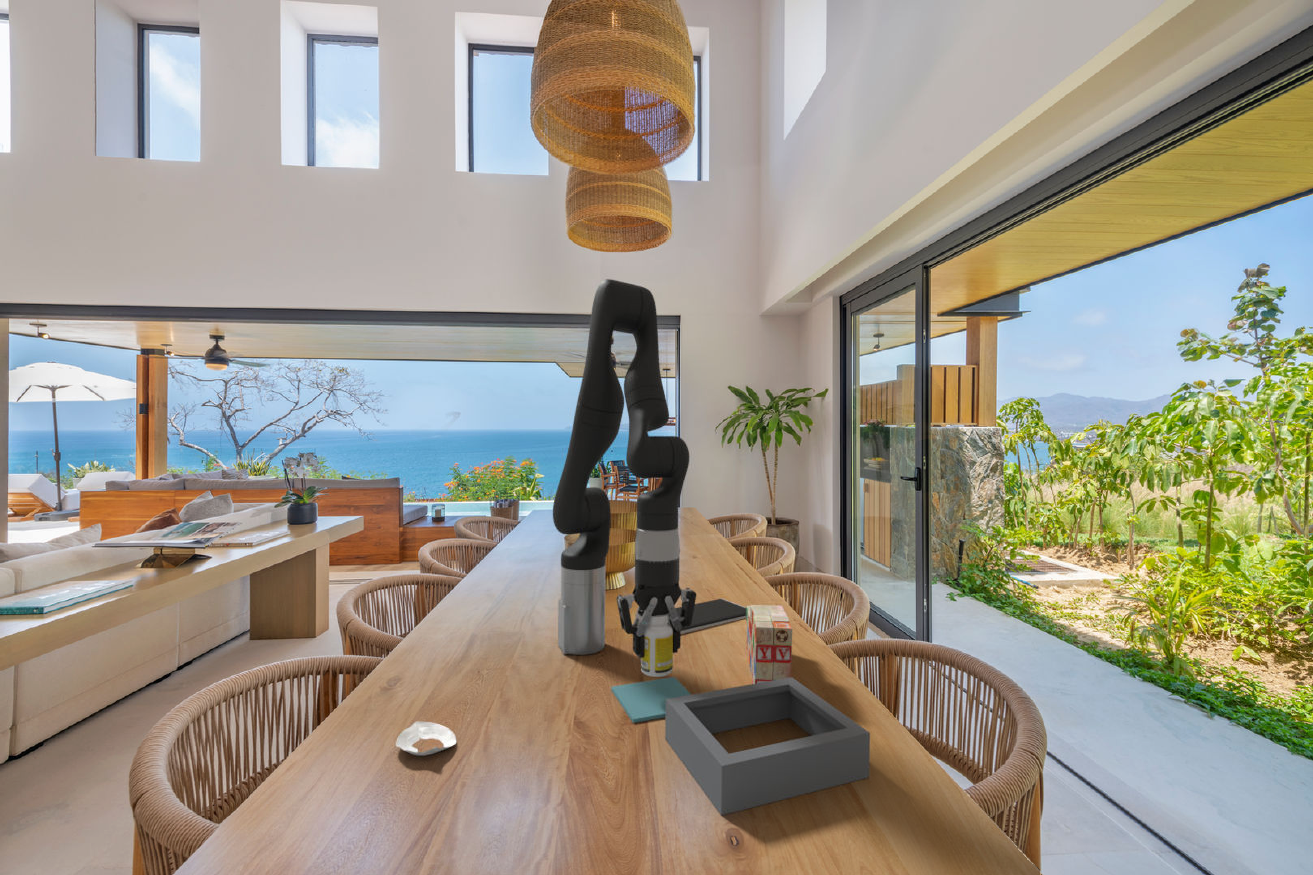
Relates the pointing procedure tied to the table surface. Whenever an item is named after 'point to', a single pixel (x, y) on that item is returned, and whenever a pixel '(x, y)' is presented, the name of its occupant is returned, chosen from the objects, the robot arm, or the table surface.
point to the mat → (648, 697)
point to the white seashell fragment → (425, 737)
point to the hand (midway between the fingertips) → (656, 653)
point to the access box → (769, 769)
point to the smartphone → (713, 614)
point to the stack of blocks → (768, 643)
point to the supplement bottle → (658, 647)
